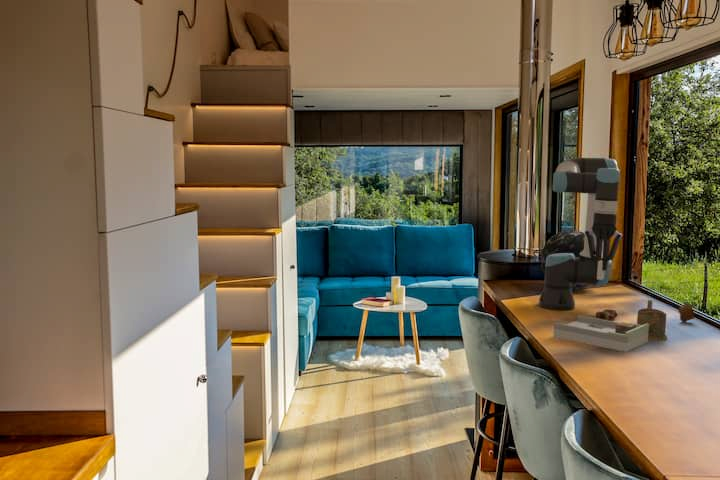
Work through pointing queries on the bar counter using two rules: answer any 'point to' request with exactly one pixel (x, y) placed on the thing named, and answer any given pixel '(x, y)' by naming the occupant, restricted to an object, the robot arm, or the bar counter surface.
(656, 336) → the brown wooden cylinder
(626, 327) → the block
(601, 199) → the robot arm
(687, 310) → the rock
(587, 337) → the grey rectangular tray
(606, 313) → the figurine
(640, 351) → the bar counter surface
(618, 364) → the bar counter surface
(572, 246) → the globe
